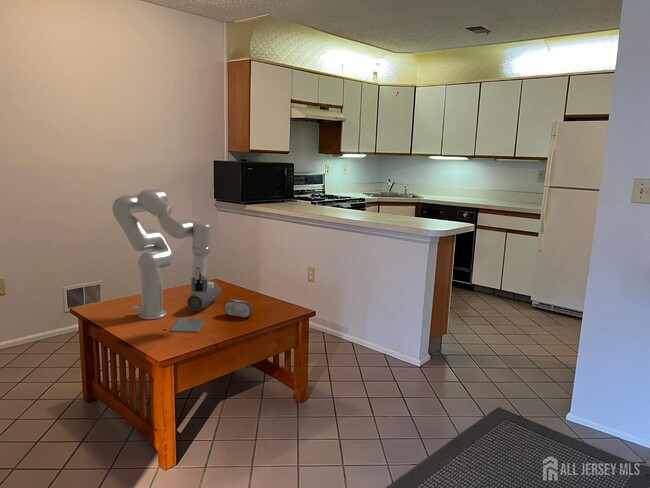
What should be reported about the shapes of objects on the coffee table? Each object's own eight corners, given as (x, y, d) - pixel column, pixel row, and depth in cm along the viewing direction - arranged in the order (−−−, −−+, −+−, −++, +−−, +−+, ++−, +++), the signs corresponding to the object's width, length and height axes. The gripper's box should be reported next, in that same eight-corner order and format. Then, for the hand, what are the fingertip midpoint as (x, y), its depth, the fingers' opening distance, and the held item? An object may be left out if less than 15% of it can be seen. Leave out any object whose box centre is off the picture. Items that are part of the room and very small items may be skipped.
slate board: (170, 331, 213) (170, 330, 213) (179, 319, 229) (179, 318, 229) (197, 332, 214) (197, 331, 214) (204, 320, 230) (204, 318, 230)
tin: (253, 317, 237) (254, 301, 235) (251, 319, 234) (251, 302, 232) (225, 313, 240) (226, 297, 239) (222, 315, 237) (223, 299, 236)
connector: (191, 291, 217) (191, 278, 216) (192, 289, 220) (193, 276, 219) (212, 292, 218) (212, 280, 216) (213, 290, 221) (214, 277, 220)
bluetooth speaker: (203, 314, 238) (203, 294, 236) (186, 312, 240) (186, 293, 238) (222, 301, 260) (222, 283, 258) (206, 299, 261) (206, 281, 260)
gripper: (196, 246, 223) (194, 284, 227) (188, 254, 207) (187, 294, 210) (212, 247, 224) (210, 284, 227) (206, 255, 207) (204, 295, 211)
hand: (199, 289), depth 219 cm, fingers closed on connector, 3 cm apart
